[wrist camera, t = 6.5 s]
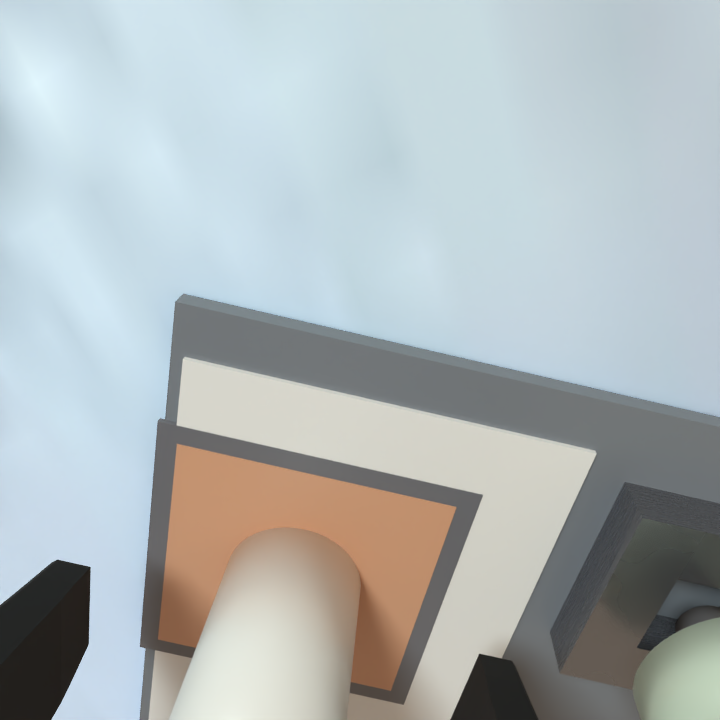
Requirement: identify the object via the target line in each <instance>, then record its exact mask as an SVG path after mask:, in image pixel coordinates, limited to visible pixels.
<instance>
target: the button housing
mask: <svg viewBox="0 0 720 720" xmlns="http://www.w3.org/2000/svg"><path fill="white" fill-rule="evenodd" d="M677 580H683V581H687V582H692V583H696V584H700V585H705V586H709V587H714V588H718V589H720V503H715V502H711V501H706V500H702V499H698V498H693V497H689V496H684V495H680V494H676V493H671V492H667V491H663V490H658V489H654V488H649V487H645V486H641V485H636V484H632V483H627V482H624V484H623V486H622V488H621V490H620V492H619V494H618V496H617V498H616V500H615V502H614V504H613V506H612V508H611V510H610V512H609V514H608V516H607V518H606V520H605V522H604V524H603V526H602V528H601V530H600V532H599V534H598V536H597V538H596V540H595V542H594V544H593V546H592V548H591V550H590V552H589V554H588V556H587V558H586V560H585V562H584V564H583V566H582V568H581V570H580V572H579V574H578V576H577V578H576V580H575V582H574V584H573V586H572V588H571V590H570V592H569V594H568V596H567V598H566V600H565V602H564V604H563V606H562V608H561V610H560V612H559V614H558V616H557V618H556V620H555V622H554V624H553V626H552V628H551V630H550V635H551V639H552V643H553V647H554V652H555V656H556V660H557V665H558V669H559V673H560V674H564V675H568V676H573V677H577V678H582V679H586V680H591V681H595V682H600V683H604V684H609V685H613V686H618V687H622V688H627V689H631V690H633V682H634V678H635V675H636V672H637V670H638V668H639V666H640V664H641V662H642V661H643V660H644V658H645V657H646V656H647V655H648V654H649V652H650V651H651V650H652V649H653V648H654V647H656V646H657V645H658V644H659V643H661V642H662V641H663V640H665V639H666V638H668V637H669V636H671V635H672V634H674V633H676V631H675V624H676V621H677V620H678V619H675V618H671V617H666V616H662V615H657V613H658V611H659V609H660V608H661V606H662V604H663V603H664V601H665V599H666V598H667V596H668V594H669V593H670V591H671V589H672V588H673V586H674V585H675V583H676V581H677ZM719 607H720V605H719Z"/></svg>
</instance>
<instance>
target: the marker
mask: <svg viewBox="0 0 720 720" xmlns="http://www.w3.org/2000/svg"><path fill="white" fill-rule="evenodd" d="M360 589H361V580H360V575H359V571H358V569H357V566H356V564H355V563H354V561H353V560H352V558H351V557H350V556H349V554H348V553H347V552H346V551H345V550H344V549H343V548H342V547H341V546H339V545H338V544H336V543H335V542H334V541H332V540H330V539H329V538H327V537H325V536H323V535H320V534H318V533H315V532H312V531H309V530H304V529H299V528H286V527H281V528H272V529H267V530H263V531H260V532H258V533H255V534H253V535H251V536H249V537H248V538H246V539H245V540H243V541H242V542H241V543H240V544H239V545H238V546H237V547H236V549H235V550H234V551H233V553H232V555H231V557H230V559H229V562H228V565H227V567H226V570H225V573H224V575H223V578H222V580H221V583H220V586H219V588H218V591H217V594H216V596H215V599H214V602H213V604H212V607H211V610H210V612H209V615H208V618H207V620H206V623H205V625H204V628H203V631H202V633H201V636H200V639H199V641H198V644H197V647H196V649H195V652H194V655H193V657H192V660H191V663H190V665H189V668H188V670H187V673H186V676H185V678H184V681H183V684H182V686H181V689H180V692H179V694H178V697H177V700H176V702H175V705H174V708H173V710H172V713H171V715H170V718H169V720H347V712H348V703H349V693H350V684H351V675H352V665H353V656H354V646H355V637H356V627H357V618H358V609H359V599H360Z"/></svg>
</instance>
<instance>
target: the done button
mask: <svg viewBox="0 0 720 720" xmlns="http://www.w3.org/2000/svg"><path fill="white" fill-rule="evenodd" d="M675 631H676V633H674V634H672V635H671V636H669V637H668V638H666V639H665V640H663V641H662V642H661V643H659V644H658V645H657V646H656V647H654V648H653V649H652V650H651V651H650V652H649V654H648V655H647V656H646V657H645V658H644V660H643V661H642V662H641V664H640V666H639V668H638V670H637V672H636V675H635V678H634V682H633V696H634V700H635V704H636V707H637V710H638V712H639V715H640V718H641V720H720V607H717V606H710V605H707V606H699V607H695V608H692V609H690V610H688V611H686V612H684V613H683V614H682V615H681V616H680V617H679V618H678V620H677V621H676V624H675Z"/></svg>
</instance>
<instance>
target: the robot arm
mask: <svg viewBox="0 0 720 720" xmlns="http://www.w3.org/2000/svg"><path fill="white" fill-rule="evenodd" d="M89 605H90V567H88V566H83V565H79V564H74V563H70V562H65V561H61V560H56V561H54V562H52V563H51V564H50V565H48V566H47V567H46V568H45V569H44V570H42V571H41V572H40V573H39V574H38V575H36V576H35V577H34V578H33V579H32V580H30V581H29V582H28V583H27V584H26V585H24V586H23V587H22V588H21V589H19V590H18V591H17V592H16V593H15V594H13V595H12V596H11V597H10V598H9V599H7V600H6V601H5V602H4V603H2V604H1V605H0V720H51V719H52V717H53V716H54V714H55V712H56V710H57V709H58V707H59V705H60V704H61V702H62V700H63V698H64V696H65V693H66V691H67V689H68V687H69V685H70V683H71V681H72V679H73V677H74V675H75V673H76V670H77V668H78V666H79V664H80V662H81V660H82V657H83V655H84V653H85V651H86V649H87V647H88V644H89ZM450 720H539V719H538V717H537V715H536V713H535V710H534V708H533V706H532V704H531V701H530V699H529V697H528V694H527V692H526V690H525V687H524V685H523V683H522V680H521V678H520V676H519V673H518V671H517V669H516V666H515V665H514V663H513V662H512V661H511V660H506V659H502V658H497V657H493V656H488V655H484V654H479V655H478V658H477V660H476V662H475V665H474V667H473V669H472V671H471V674H470V676H469V678H468V681H467V683H466V685H465V687H464V690H463V692H462V694H461V697H460V699H459V701H458V703H457V706H456V708H455V710H454V712H453V715H452V717H451V719H450Z"/></svg>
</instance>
